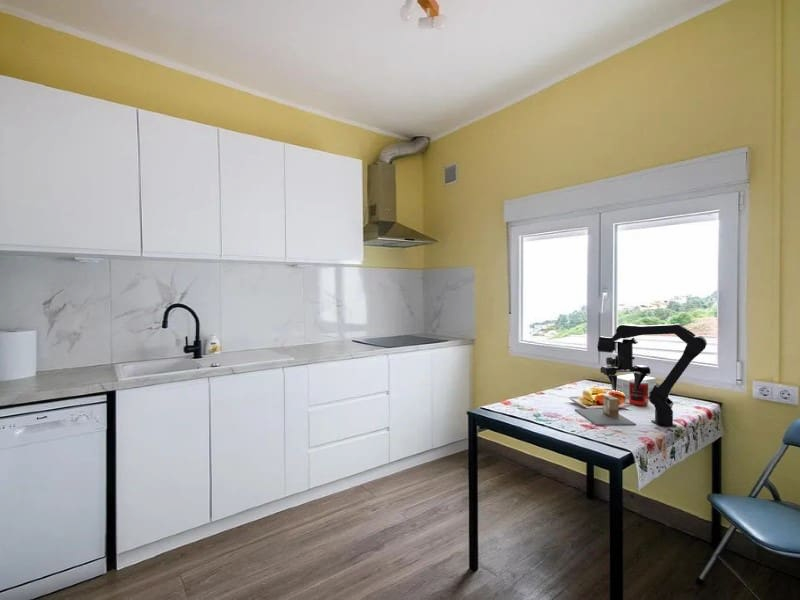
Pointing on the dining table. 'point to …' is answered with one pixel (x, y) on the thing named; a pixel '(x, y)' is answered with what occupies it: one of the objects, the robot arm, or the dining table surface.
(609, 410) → the block
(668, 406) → the robot arm
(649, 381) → the supplement box
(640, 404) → the canned food
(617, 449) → the dining table surface
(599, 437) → the dining table surface
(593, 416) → the mat
